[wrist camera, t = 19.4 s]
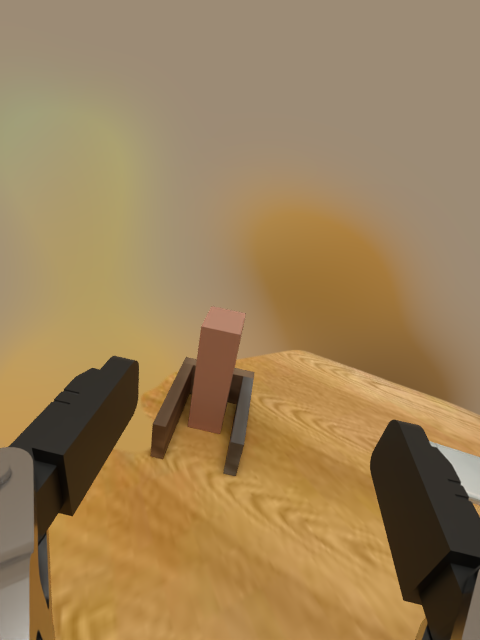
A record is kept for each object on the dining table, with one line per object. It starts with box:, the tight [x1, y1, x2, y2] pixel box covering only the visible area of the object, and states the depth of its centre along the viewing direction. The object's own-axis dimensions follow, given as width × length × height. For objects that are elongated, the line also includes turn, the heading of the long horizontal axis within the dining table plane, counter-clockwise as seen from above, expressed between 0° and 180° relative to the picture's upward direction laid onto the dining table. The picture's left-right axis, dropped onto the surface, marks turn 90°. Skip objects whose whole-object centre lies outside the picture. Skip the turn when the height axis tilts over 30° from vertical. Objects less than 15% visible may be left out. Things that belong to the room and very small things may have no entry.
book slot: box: [151, 357, 254, 476], centre depth 43 cm, size 10×14×6 cm
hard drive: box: [429, 441, 480, 505], centre depth 44 cm, size 2×8×12 cm
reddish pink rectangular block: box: [188, 306, 246, 434], centre depth 42 cm, size 4×6×16 cm
